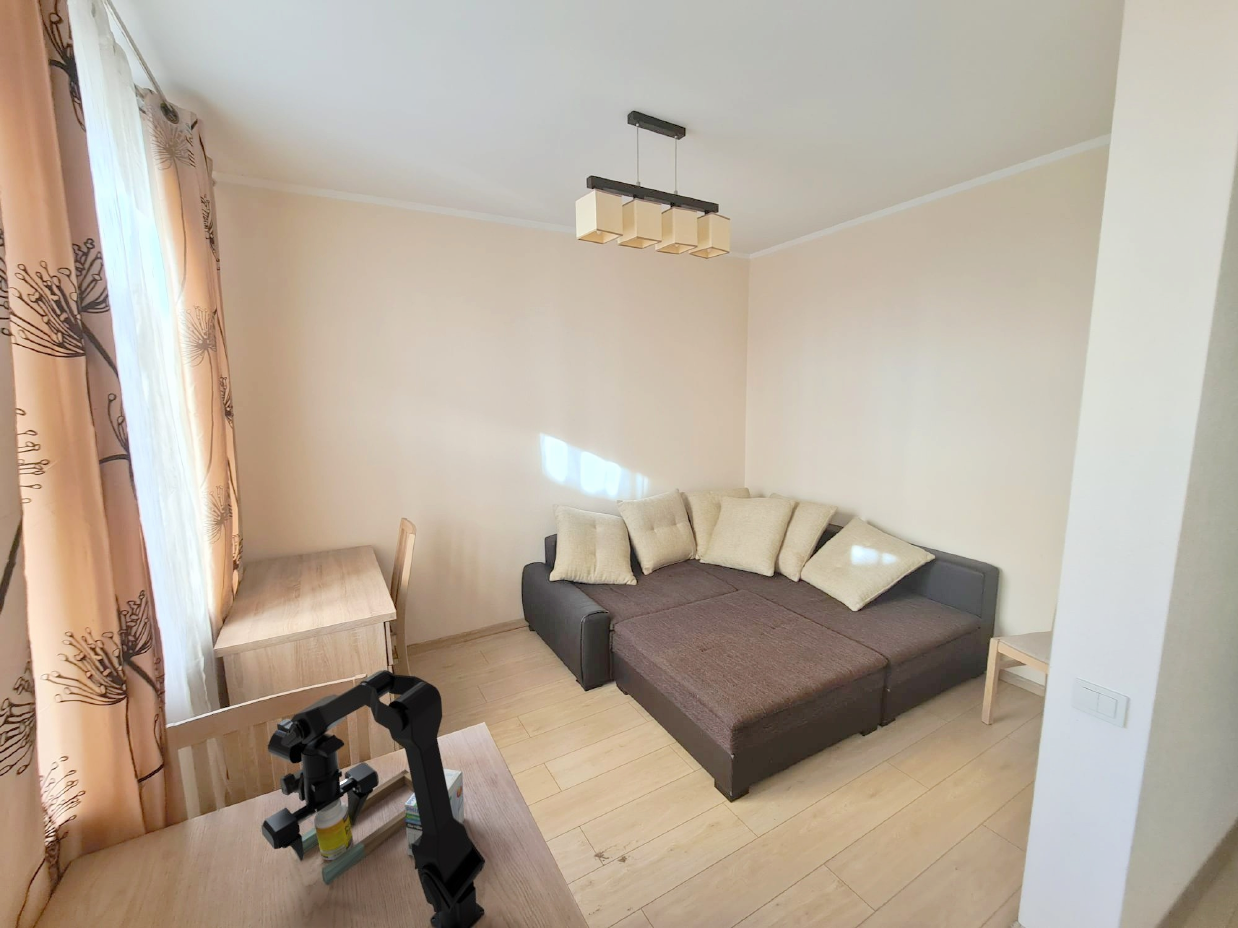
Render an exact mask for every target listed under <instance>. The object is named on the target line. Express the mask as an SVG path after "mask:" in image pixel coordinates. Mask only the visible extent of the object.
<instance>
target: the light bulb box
mask: <svg viewBox="0 0 1238 928" xmlns="http://www.w3.org/2000/svg"><path fill="white" fill-rule="evenodd" d="M443 769H444V774H445V779H446V784H447V789H448V794H449V799H450V803H451V808H452V813H453V817H454V818H455V819H456V820H458V821H459V822H460V823H462V824H463V822H464V820H465V807H464V806H465V805H464V804H465V803H464V802H465V801H464V781H463V779H464V777H463V771H461V770H456V769H455V770H454V769H448V768H443ZM404 810H405V816H406V827H405V828H406V829H405V831H406V843H407V846H406V847H407V855H408V856H412V857H413V854H412V844H413V843H414V842H415V841H416V840H417V839H418V838H419V837H420V836H421V835H422V827H421V822H420V817H419V813H418V808H417V803H416V798H415V794H414V792H413V793H412V794H411V796H410V797H409V798H408V800H407V801H406V802H405V803H404Z"/></svg>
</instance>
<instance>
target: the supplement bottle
mask: <svg viewBox="0 0 1238 928" xmlns="http://www.w3.org/2000/svg"><path fill="white" fill-rule="evenodd" d="M347 806H348V805H347V804H346V803H345V802H343V801H342V800H341V798H339V799H338V800H336V801H334V802H333V803H332V804H330V805H329V806H327V807H326V808H324V809H322V810H321V811H319V812H318V813H316V814H315V815H314V816H315V817H314V819H313V824H314V828H315V829H316V833H317V838H318V848H319V851H320V855H321V858H322V859H324V860H326V861H333V860H335V859H336V858H337V857H339V856H340V855H342V854H343V853H344V852H346V851H347V850H349V849H350V848H352V844H353V841H354V838H353V832H352V826H351V825H350V821H349V815H348V810H347Z"/></svg>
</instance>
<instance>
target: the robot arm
mask: <svg viewBox="0 0 1238 928" xmlns="http://www.w3.org/2000/svg"><path fill="white" fill-rule="evenodd" d="M388 693H390V694H391V695H399V696H398V697H397V698H395V699H394V700H392V701H391V702H389V703H388V704H386V703H384V702H382V701H381V700H380V699H381V698H383V697H384V696H385V695H387V694H388ZM365 706H366V707H368V708H369V709H370V711H371V713H372V717H373V720H374V721H375V723H377V724H379V725H381V726H382V727H384V728H386V729H387V730H388V731H389V734H390V736H391V737H390V738H391V739H392V740H393V741H394V742H396V743H397V744H398V745H400V746H401V747H402V748H404V751H405V755H406V760H407V765H408V770H409V773H410V774H411V779H412V784H413V789H414V792H413V793H414V794H415V798H416V803H417V808H418V813H419V817H420V822H421V827H422V835H421V836H420V837H419V838H418V839H417V840H416V841H415V842H414V843H413V844H412V854H413V856H412V857H413V859H414V860H413V861H414V870H417V875H418V878H419V881H420V882H419V883H420V885H421V888H422V890H423V894H424V897H425V900H426V902H427V904H429V905H431V906H432V907H433V912H434V914H433V915H432V916H431V917H430V919H429V920H430V921H429V922H430V924H431V925H432V926H433V928H472V927H473V926H474V925H475V924H476V923H477V922H478V921H479V920H480V919H481V918H482V917H483V916H484V915H485V909H484V908H483V907H482V906H481V905H480V904H479V903H477V890H476V889H477V887H476V886H475V882H474V881H475V880H476V879H477V876H478V875H479V874H480V873H481V872H482V871H483V869H484V866H485V864H486V860H485V858H484V857H483V855H482V854H481V852H480V851H479V850H478V848H477V846H476V845H475V843H474V842H473V841H472V839H471V838H470V837H469V834H468V831H467V828H466V826H465V824H463V822H462V823H460V822H459V821H458V820H456V819H455V818H454V817H453V813H452V808H451V803H450V799H449V794H448V789H447V784H446V779H445V774H444V769H445V768H444V765H443V760H442V756H441V750H440V746H439V741H438V734H439V731H440V727H441V723H442V720H443V704H442V695H441V693H440V691H439V689H438V688H437V687H436V686H435V685H434V684H432V683H429V682H428V681H426V680H424V679H422V678H420V677H418V676H415V675H406V674H405V675H403V674H395V673H393V672H391V671H390V670H387V669H383V670H378V671H377V672H374V673H373V674H372V675H369V676H368V677H366V678H365V679H363V680H362V681H360V682H359V683H358V684H356V685H355V686H353V687H351V688H350V689H348V690H346V691H345V692H342V693H341V694H330V695H326V696H324V697H322V698H320V699H319V700H317V701H316V702H314V703H312V704H310V705H309V706H307V707H305V708H303V709H302V710H300V711H299V712H297V713H295V714H294V715H293V716H292V717H291V719H290V718H285V719H283V720H282V721H280V722H278V723H277V724H276V728H277V729H276V730H275V731H274V732H273V733H272V735H271V737H270V738H269V742H268V744H267V751H268V753H269V754H270V755H272V756H274V757H276V758H280V759H281V760H284V761H286V762H288V763H291V764H293V765H294V764H299V763H301V767H302V768H301V769H299V770H298V771H296V772H294V773H291V772H290V773H287V774H285V775H284V776H282V777H280V779H279V780H280V788H281V793H282V794H283V795H284V796H289V795H291V794H293V793H294V794H296V793H297V794H298V799H299V800H300V801H301V802H304V801H305V805H304V806H302V807H301V808H299V809H297V810H296V811H294V812H291V811H290V810H289V809H288V807H284V808H282V809H281V810H279V811H277V812H276V813H274V814H272V815H271V816H269V817H267V818H265V820H263V823H262V824H261V833H262V836H263V837H264V838H265V840H266V841H267V842H268V844H270V846H271V847H272V848H273V849H274V850H279V849H281V848H282V849H287V848H289V847H291V849H292V850H293V852H294V854H295V855H296V857H297V858H298V860H299V861H303V860H304V856H305V854H304V853H305V852H304V851H303V842H302V834H301V833H300V832H301V830H300V829H301V828H300V825H301V823H303V822H304V821H306V820H309V819H310V818H311V817H313V816H315V815H316V814H317V813H318V812H319V811H321V810H322V809H324V808H326V807H327V806H329V805H330V804H332V803H333V802H334V801H336V800H338V799H339V798H340V799H341V798H342V797H344V796H345V795H346V794H347V806H348V815H349V821H350V826H351V827H354V826H355V823H356V822H357V820H358V818H359V816H358V815H359V813H360V811H361V809H362V807H363V805H364V803H365V801H366V799H367V798H368V796H369V794H371V793H372V792H373V790H374V789H375V788H377V787H378V786H379V783H380V781H379V779H380V778H379V773H378V772H377V771H376V769H374V768H373V767H372V766H370V765H369V764H367V763H366V762H364V761H362V762H361V763H359V764H357V765H355V766H354V767H352V768H350V769H348V770H347V771H345V773H344V779H345V780H343V781H341V782H340V778H342V776H343V772H342V770H341V769H340V768H339V758H338V750H341V748H343V747H344V746H345V742H344V741H343V739H341V738H338V737H337V735H335V734H330V733H327V732H329V731H330V730H331V729H333V728H335V727H337V726H338V725H340V724H341V722H342V721H343V720H344V719H345V718H346V717H347V716H348V715H350V714H352V713H354V712H355V711H358V710H359V709H361V708H363V707H365Z"/></svg>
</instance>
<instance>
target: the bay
mask: <svg viewBox="0 0 1238 928" xmlns="http://www.w3.org/2000/svg"><path fill="white" fill-rule="evenodd" d="M403 787H406V788H407V789H409V790H410V791H411V792H413V793H414V789H413V784H412V779H411V774H410V771H408V770H407V769H404V770H402V771H400V772H399V773H397V774H396V775H394V776H392V777H391V778H390V779H388V780H385V781H384V782H383V783H381V784H380V785H378V786H376V787H375V788H373V792H372V793H371V794H369V796H368V798H367V799H366V801H365V803H364V805H363V807H362V809H361V811H360V813H359V815H358V817H360V816H361V815H363V814H365V813H366V812H367V811H369V810H370V809H371V808H373V807H374V806H377V804H379V803H382V801H384V800H385V799H387V798H388V797H389V796H391V795H393V794H394V793H396V792H397V791H398V790H401V789H402V788H403ZM346 806H347V810H348V805H346ZM405 828H406V816H405V809H403V811H401V812H399V813H398V814H396V815H395V816H394V817H392V818H391V819H390V820H388V821H387V822H386V823H384V824H383V825H381V826H380V827H378V828H377V829H376V830H374V831H373V832H371V833H370V834H368V835H367V836H366V837H364V838H363V839H361V840H360V841H358V842H357V843H356V844H355V845H353V846H351V847H350V848H349V850H347V851H346V852H344V853H343V854H342V855H340V856H339V857H337V858H336V859H333V860H331V861H330V862H329V863H328V864H326V865H325V866H324V867H322V868H321V876H322V877H321V878H322V882H323V883H324V884H325V886H328V885H329V884H331V883H332V882H333V881H335V880H336V879H337V878H339V877H340V876H342V875H343V874H344V873H346V872H348V870H349V869H351V868H352V867H354V866H356V864H358V863H359V862H360V861H362V860H363V859H364V858H366V857H367V856H368V855H370V854H371V853H372V852H374V851H375V850H377V849H378V848H379V847H380V846H382V845H384V844H385V843H386V842H388V841H389V840H390V839H392V838H393V837H394V836H395V835H397V834H399V833H400V832H401V831H402V830H403V829H405ZM301 836H302V842H303V851H304V853H306V852H307V851H309V850H310V849H312V848H314V847H315V846H317V845H319V843H318V838H317V833H316V829H315V827H312V829H310V830H308V831H307V832H306V833H305V832H304V834H301Z"/></svg>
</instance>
